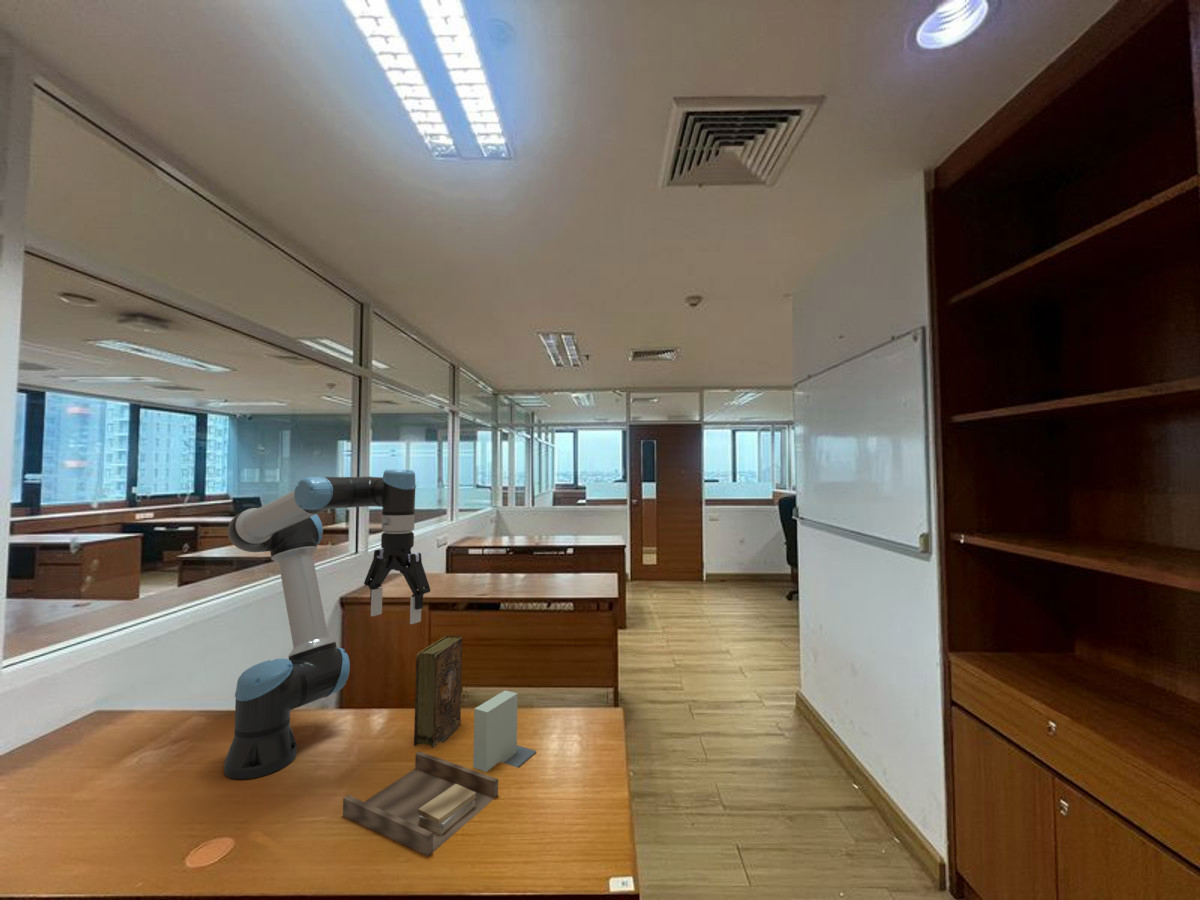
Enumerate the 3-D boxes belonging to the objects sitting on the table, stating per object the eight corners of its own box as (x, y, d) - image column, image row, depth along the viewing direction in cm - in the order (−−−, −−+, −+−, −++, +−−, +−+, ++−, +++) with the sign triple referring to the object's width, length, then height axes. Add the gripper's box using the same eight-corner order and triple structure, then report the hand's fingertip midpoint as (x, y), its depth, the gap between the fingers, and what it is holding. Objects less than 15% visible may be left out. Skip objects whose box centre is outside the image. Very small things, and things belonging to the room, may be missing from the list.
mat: (452, 775, 122) (452, 774, 122) (499, 741, 138) (499, 739, 138) (491, 790, 117) (491, 788, 117) (536, 752, 133) (536, 751, 133)
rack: (342, 823, 105) (343, 798, 106) (418, 772, 123) (419, 751, 124) (427, 864, 94) (428, 836, 95) (497, 802, 112) (498, 779, 113)
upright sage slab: (473, 772, 123) (474, 708, 124) (504, 748, 134) (505, 690, 134) (486, 776, 121) (487, 712, 122) (516, 752, 132) (517, 693, 133)
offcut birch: (418, 825, 103) (418, 820, 103) (453, 797, 112) (453, 793, 112) (440, 835, 100) (440, 829, 100) (475, 806, 109) (475, 801, 109)
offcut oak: (418, 813, 103) (418, 808, 103) (455, 788, 112) (455, 783, 112) (438, 824, 100) (438, 819, 100) (475, 797, 109) (475, 792, 109)
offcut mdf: (419, 821, 102) (419, 816, 102) (451, 793, 112) (451, 788, 112) (443, 829, 100) (443, 824, 100) (474, 799, 109) (474, 795, 109)
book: (445, 721, 149) (447, 634, 150) (462, 723, 148) (464, 636, 149) (413, 751, 133) (416, 653, 134) (432, 754, 132) (435, 655, 133)
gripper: (350, 530, 129) (347, 615, 128) (423, 536, 117) (420, 630, 116) (376, 527, 135) (373, 608, 134) (446, 533, 124) (444, 621, 123)
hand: (395, 618), depth 125 cm, fingers open, 13 cm apart
